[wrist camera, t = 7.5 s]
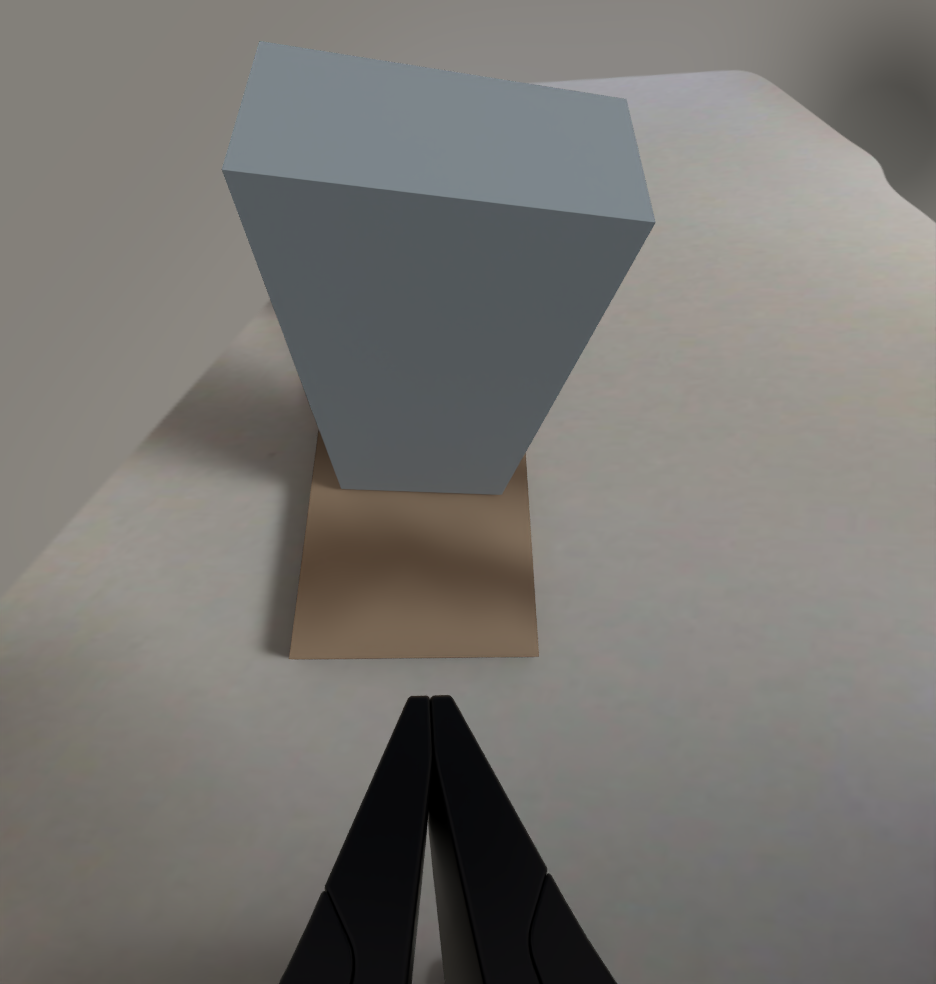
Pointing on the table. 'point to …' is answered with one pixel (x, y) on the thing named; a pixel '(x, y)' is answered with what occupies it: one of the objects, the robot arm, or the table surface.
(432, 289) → the block
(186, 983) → the table surface
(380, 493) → the press bed
